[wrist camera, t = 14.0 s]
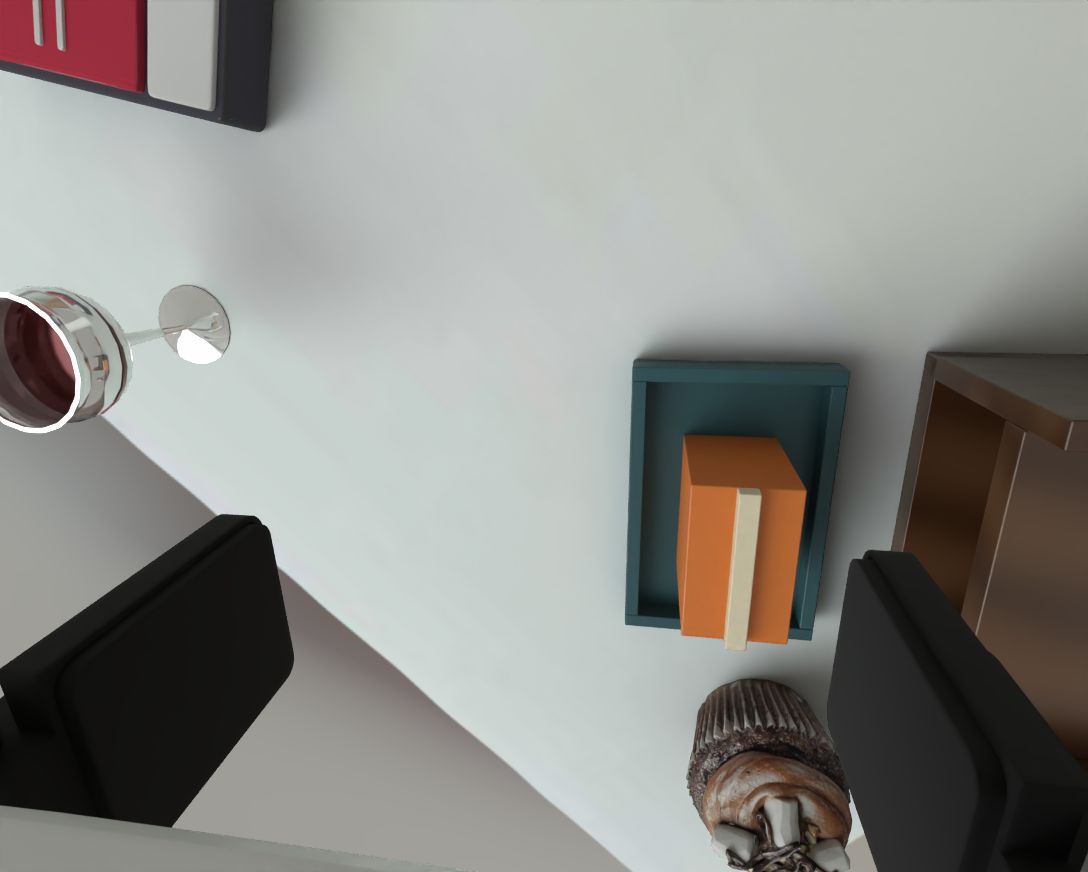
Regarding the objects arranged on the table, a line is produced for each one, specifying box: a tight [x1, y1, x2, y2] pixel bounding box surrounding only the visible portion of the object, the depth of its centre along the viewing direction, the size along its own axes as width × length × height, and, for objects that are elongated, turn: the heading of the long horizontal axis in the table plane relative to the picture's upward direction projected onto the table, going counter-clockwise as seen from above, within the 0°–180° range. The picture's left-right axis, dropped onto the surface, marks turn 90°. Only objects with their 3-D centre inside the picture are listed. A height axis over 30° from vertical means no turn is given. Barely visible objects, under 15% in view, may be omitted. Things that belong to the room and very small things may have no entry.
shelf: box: [891, 352, 1088, 775], centre depth 30 cm, size 18×12×12 cm, turn 1°
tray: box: [625, 360, 850, 641], centre depth 37 cm, size 17×11×2 cm
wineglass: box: [0, 286, 230, 433], centre depth 34 cm, size 7×7×12 cm
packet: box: [676, 434, 807, 651], centre depth 33 cm, size 8×5×8 cm, turn 1°
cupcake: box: [686, 679, 852, 872], centre depth 38 cm, size 10×10×10 cm
